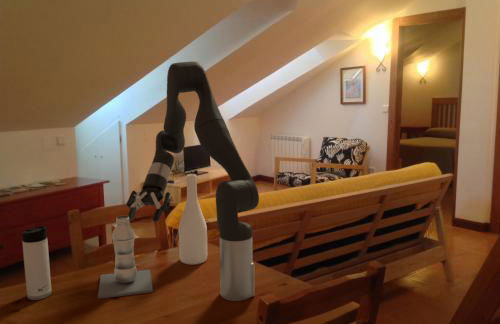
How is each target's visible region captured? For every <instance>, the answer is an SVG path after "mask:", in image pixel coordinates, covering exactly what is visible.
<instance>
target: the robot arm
mask: <svg viewBox="0 0 500 324" xmlns="http://www.w3.org/2000/svg"><path fill="white" fill-rule="evenodd" d="M166 76H167V77H166V112H165V118H164V123H163V129H162V130H160V131H159V132H158V133H157V134H156V138H155V153H154V156H153V160H152V162H151V164H150V166H149V169H148V171H147V173H146V176H145V179H144V182H143V184H142V188H141V191H138V192H137V191H136V190H132V191H131V193H130V195H129V197H128V200H127V202H126V203H125V205H126V206H127V208H128V209H129V211H128V214H127V216H129V221H130V222H132V221H134V220H135V216H136V214H137V211H138V210H139V209H140V208H143V207H144V206H151V207H154V206H155V208H156V209H155V210H154V214H153V217H152V221H153V222H154V223H158V222H159V220H160V218H161V216H162V213H163V212H168V211H169V209H170V205H171V203H172V202H171V201H172V195H171V193H170V192H169V191H166V189H167V186H168V183H169V180H170V175H171V171H172V168H173V165H174V162H175V157H174V155H172V153H173V154H180V153H182V152H183V150H184V149H185V146H186V145H185V144H186V138H185V133H184V129H185V127H186V122H187V111H186V110H185V108H184V106H183V104H182V103H181V101H180V99H179V96H180V94H184V93H191V92H194V93H196V94H197V97H198V101H199V103H198V108H197V113H196V116H195V118H194V125H193V128H194V132H195V134H196V137H197V140H198V142H199V144H200V146H201V148H202V149H203V151H204V152H205V154H207V155H208V156H209V157H210V158H211V159H212V160H214V161H215V162H216V163H218V165H220V166H221V168H223V170H225V173H227V175H228V176H229V180H224V181H223V180H222V181H221V182H220V183H219V184H218V185H217V187H216V191H215V208H216V222H217V223H216V224H217V228H218V232H219V282H220V283H219V286H220V287H219V289H220V290H219V291H220V296H221V298H223V299H224V300H227V301H231V302H241V301H246V300H247V299H249V298H251V297H255V296H256V295H255V293H256V292H255V291H256V290H255V286H256V285H255V282H256V279H255V274H256V273H255V269H256V268H255V265H256V264H255V263H254V261H253V227H252V225H251V224H249V223H248V222H243V221H239V213H244V212H249V211H252V210H255V209H256V208H257V207H258V205H259V202H260V195H259V190H258V187H257V184H256V183H255V181H254V178H253V177H252V175H251V173H250V172H249V170H248V168H247V166H246V165H245V163H244V162H243V160H242V157H241V156H240V153H239V151H238V149H237V147H236V145H235V143H234V140H233V138H232V136H231V132H230V130H229V128H228V126H227V124H226V122H225V120H224V118H223V115H222V113H221V111H220V108H219V107H218V104H217V102H216V100H215V97H214V94H213V91H212V88H211V85H210V82H209V79H208V76H207V73H206V71H205V69H204V66H203V65H202V64H201V63H200V62H198V61H182V62H181V61H180V62H179V61H178V62H173V63H171V64H170V66H169V67H168V69H167V75H166ZM165 191H166V192H165ZM161 200H163V202H162V205H161V203H160V202H161Z"/></svg>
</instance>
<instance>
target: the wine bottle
mask: <svg viewBox="0 0 500 324" xmlns="http://www.w3.org/2000/svg"><path fill="white" fill-rule="evenodd" d="M185 181H186V201H185V205H184V207H183V208H184V209H183V212H182V216H181V218H180V221H179V226H178V249H179V260H180V262H181V263H183V264H185V265H190V266H191V265H194V266H195V265H200V264H202V263H205V261H207V259H208V227H207V223H206V220H205V219H206V218H205V217H204V214H203V211H202V209H201V205H200V202H199V199H198V187H197V181H198V176H197V174H195V173H188V174H186V177H185Z"/></svg>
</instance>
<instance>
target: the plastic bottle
mask: <svg viewBox="0 0 500 324" xmlns="http://www.w3.org/2000/svg"><path fill="white" fill-rule="evenodd" d="M115 219H116V222H115V225H116V226H115V228H114V230H113V231H112V234H111V239H112V243H113V248H114V256H115V258H114V259H115V261H114V264H115V265H114V276H115V279H116V281H117V282H118V283H130V282H133V281H134V280H135V279H136V277H137V271H138V270H137V266H136V262H135V261H136V260H135V252H134V251H135V250H134V249H135V237H136V236H135V234H136V233H135V231H134V229H133V227H132V226H131V225H130V223H131V221H130V219H129V216H128V215H119V216H116V217H115Z"/></svg>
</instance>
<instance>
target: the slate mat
mask: <svg viewBox="0 0 500 324" xmlns="http://www.w3.org/2000/svg"><path fill="white" fill-rule="evenodd" d="M148 293H153V283H152V275H151V269H143V270H141V269H140V270H137V277H136V279H135V280H134V281H133V282H130V283H118V282H117V281H116V279H115V276H114V273H106V274H100V277H99V285H98V293H97V299H98V300H99V299H108V298H116V297H123V296H124V297H125V296H132V295H139V294H148Z"/></svg>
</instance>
